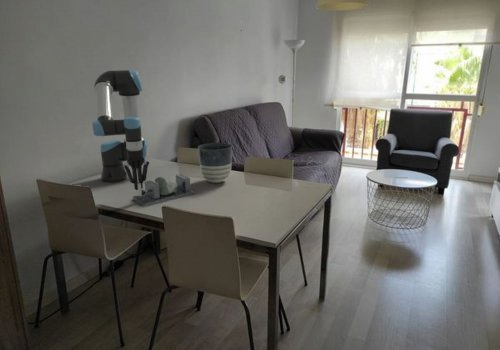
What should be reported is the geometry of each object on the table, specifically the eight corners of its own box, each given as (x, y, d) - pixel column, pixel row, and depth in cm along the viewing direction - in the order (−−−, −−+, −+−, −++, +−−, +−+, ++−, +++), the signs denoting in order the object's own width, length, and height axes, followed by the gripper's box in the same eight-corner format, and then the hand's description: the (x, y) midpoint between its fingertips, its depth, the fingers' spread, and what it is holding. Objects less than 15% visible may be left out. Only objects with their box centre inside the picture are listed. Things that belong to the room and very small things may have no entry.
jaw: (137, 196, 191) (135, 182, 189) (151, 193, 196) (149, 179, 194) (145, 201, 184) (144, 186, 182) (159, 197, 189) (158, 183, 186)
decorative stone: (158, 198, 188) (169, 182, 187) (146, 187, 193) (157, 171, 193) (174, 203, 199) (184, 188, 199) (162, 192, 204) (172, 177, 204)
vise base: (132, 199, 192) (131, 182, 190) (180, 187, 209) (179, 172, 207) (144, 206, 182) (142, 189, 179) (193, 193, 199) (192, 177, 196)
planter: (193, 184, 215) (191, 148, 209) (209, 175, 232) (208, 142, 226) (224, 188, 208) (222, 150, 202) (238, 178, 225) (237, 144, 219)
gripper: (124, 152, 173) (129, 200, 180) (150, 148, 181) (154, 194, 188) (118, 150, 179) (123, 196, 185) (144, 146, 187) (148, 190, 193)
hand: (139, 195), depth 186 cm, fingers closed
